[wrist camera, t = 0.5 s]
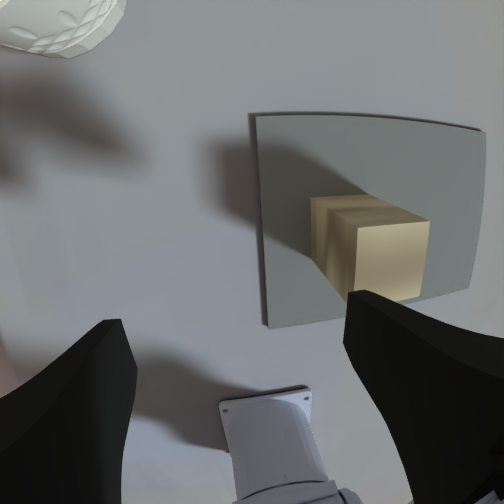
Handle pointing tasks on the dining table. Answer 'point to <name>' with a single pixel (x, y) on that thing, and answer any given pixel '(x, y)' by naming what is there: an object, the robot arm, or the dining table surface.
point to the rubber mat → (364, 182)
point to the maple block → (368, 245)
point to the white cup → (58, 25)
